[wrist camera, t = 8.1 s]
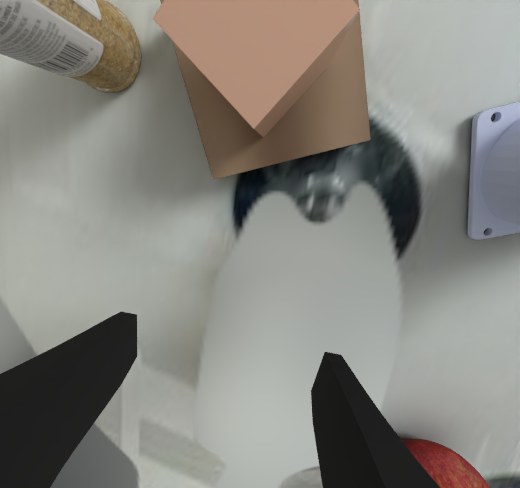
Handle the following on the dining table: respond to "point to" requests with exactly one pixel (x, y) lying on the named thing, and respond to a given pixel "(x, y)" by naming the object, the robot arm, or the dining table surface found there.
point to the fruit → (445, 465)
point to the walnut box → (294, 120)
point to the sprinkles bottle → (72, 40)
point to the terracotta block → (259, 48)
